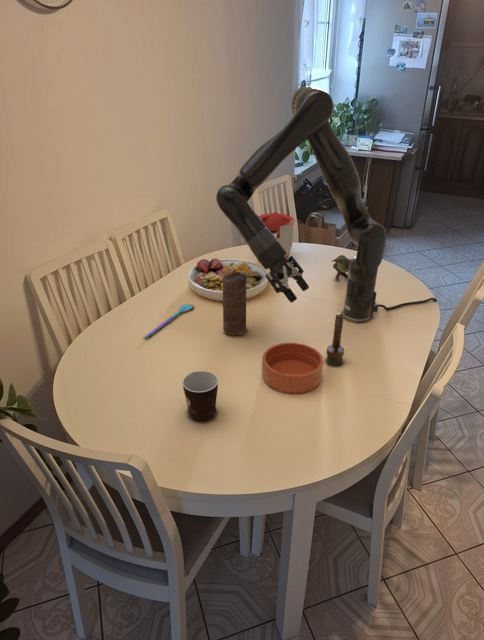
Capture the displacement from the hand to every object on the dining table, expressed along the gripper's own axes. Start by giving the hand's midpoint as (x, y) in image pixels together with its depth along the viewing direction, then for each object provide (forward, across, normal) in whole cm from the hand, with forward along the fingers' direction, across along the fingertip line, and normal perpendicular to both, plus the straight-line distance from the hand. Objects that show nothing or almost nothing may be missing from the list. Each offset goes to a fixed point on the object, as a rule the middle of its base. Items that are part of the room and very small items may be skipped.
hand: (300, 295), depth 138 cm
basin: (+16, -13, +10) cm, 23 cm away
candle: (-2, +1, +29) cm, 29 cm away
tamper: (+22, 0, +4) cm, 22 cm away
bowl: (-15, +28, +42) cm, 53 cm away
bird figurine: (+9, +57, +16) cm, 60 cm away
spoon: (-17, -4, +45) cm, 48 cm away
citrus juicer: (-13, +62, +40) cm, 75 cm away
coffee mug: (+8, -39, +20) cm, 45 cm away
